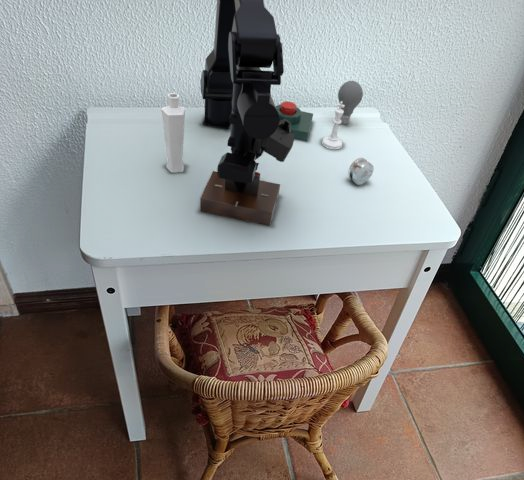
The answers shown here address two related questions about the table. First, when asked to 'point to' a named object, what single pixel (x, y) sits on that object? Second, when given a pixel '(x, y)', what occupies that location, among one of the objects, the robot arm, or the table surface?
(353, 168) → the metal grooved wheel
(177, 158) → the perfume bottle
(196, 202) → the table surface
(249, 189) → the knob
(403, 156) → the table surface
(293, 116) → the button box
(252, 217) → the panel
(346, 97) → the light bulb
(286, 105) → the button
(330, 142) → the chess piece
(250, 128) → the robot arm
